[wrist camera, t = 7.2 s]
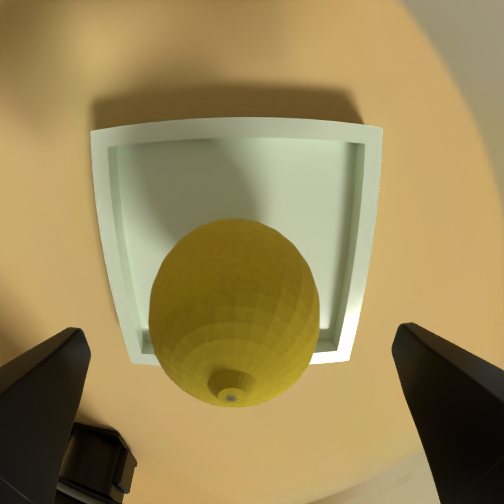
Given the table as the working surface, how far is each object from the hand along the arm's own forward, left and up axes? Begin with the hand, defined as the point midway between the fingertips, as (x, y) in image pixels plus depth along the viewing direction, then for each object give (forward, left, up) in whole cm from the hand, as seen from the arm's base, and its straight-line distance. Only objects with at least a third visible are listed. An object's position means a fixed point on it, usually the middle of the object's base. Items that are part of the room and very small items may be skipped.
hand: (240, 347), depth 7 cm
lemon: (0, 0, -7) cm, 7 cm away
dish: (0, 0, -7) cm, 7 cm away
